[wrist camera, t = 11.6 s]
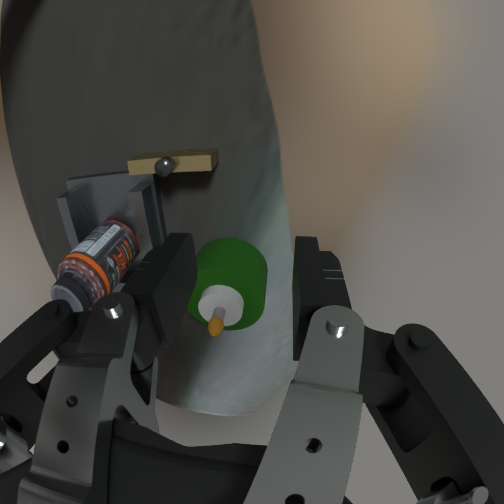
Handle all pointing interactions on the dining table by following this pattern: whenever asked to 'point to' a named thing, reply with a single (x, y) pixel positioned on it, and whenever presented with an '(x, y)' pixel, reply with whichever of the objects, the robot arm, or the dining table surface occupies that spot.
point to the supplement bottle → (95, 265)
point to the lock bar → (174, 162)
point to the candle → (228, 285)
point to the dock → (114, 209)
